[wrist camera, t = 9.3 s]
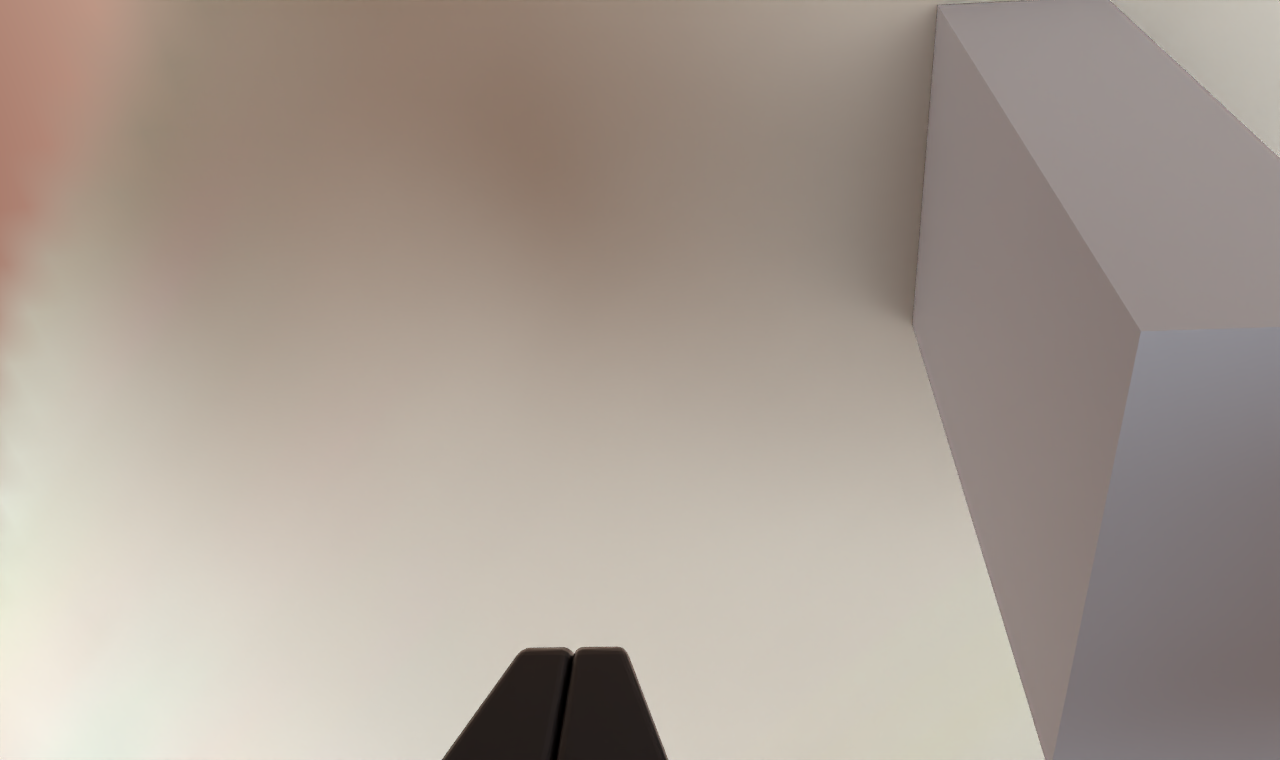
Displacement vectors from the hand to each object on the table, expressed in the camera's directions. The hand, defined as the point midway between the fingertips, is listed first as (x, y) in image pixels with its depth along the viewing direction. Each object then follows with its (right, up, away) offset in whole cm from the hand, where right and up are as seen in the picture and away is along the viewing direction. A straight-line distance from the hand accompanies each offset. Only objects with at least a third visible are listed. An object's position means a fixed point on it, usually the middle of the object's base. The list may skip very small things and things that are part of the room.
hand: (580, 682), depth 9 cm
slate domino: (+6, +5, +8) cm, 11 cm away
